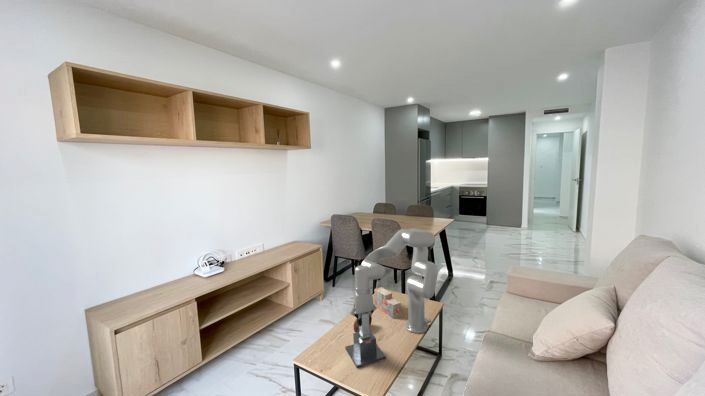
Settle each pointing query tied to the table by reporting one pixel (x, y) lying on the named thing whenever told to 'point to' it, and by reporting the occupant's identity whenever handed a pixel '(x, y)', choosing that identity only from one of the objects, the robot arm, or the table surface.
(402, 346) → the table surface
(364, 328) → the bar
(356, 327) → the tin
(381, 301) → the stack of blocks
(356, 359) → the jack base
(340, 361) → the table surface
